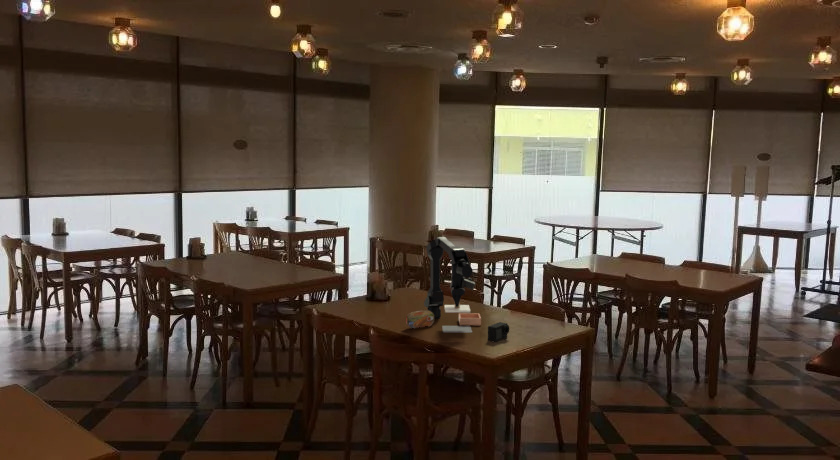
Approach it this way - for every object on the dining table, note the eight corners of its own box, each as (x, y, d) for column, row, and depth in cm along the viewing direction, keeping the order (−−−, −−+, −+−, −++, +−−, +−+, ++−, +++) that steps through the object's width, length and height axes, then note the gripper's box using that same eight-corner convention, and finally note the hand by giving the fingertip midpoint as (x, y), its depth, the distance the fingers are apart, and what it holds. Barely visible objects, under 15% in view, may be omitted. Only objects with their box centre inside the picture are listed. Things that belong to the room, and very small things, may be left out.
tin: (407, 330, 348) (407, 313, 347) (404, 328, 351) (404, 311, 350) (434, 326, 355) (434, 309, 354) (431, 325, 357) (431, 308, 357)
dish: (459, 326, 355) (459, 318, 355) (458, 321, 366) (458, 313, 365) (480, 326, 355) (480, 318, 355) (479, 321, 366) (479, 313, 365)
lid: (445, 312, 341) (445, 302, 340) (444, 306, 353) (444, 296, 352) (470, 312, 341) (470, 302, 340) (468, 306, 353) (468, 296, 352)
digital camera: (497, 342, 325) (497, 327, 324) (487, 341, 328) (487, 326, 328) (509, 338, 333) (509, 323, 332) (499, 336, 337) (499, 321, 336)
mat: (442, 333, 342) (442, 332, 342) (442, 326, 355) (442, 325, 355) (472, 333, 342) (472, 332, 342) (470, 326, 355) (470, 325, 355)
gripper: (475, 277, 336) (475, 310, 337) (472, 270, 354) (472, 301, 356) (451, 277, 336) (451, 310, 338) (450, 270, 354) (450, 301, 356)
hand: (457, 305), depth 347 cm, fingers closed on lid, 3 cm apart
